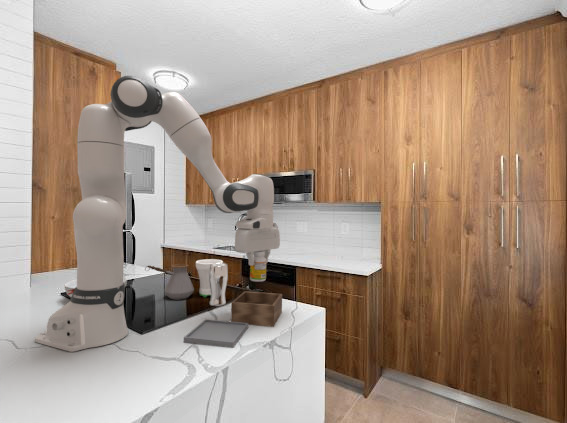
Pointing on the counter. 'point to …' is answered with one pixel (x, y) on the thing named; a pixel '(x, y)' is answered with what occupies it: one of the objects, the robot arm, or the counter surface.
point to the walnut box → (257, 308)
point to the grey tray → (217, 333)
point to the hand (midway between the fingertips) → (258, 263)
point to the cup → (205, 275)
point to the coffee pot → (177, 282)
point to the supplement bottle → (258, 267)
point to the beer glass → (218, 283)
